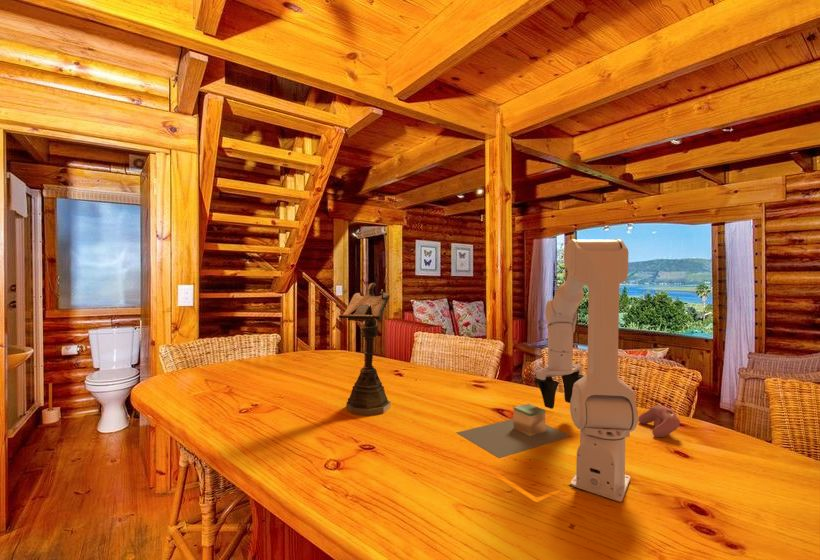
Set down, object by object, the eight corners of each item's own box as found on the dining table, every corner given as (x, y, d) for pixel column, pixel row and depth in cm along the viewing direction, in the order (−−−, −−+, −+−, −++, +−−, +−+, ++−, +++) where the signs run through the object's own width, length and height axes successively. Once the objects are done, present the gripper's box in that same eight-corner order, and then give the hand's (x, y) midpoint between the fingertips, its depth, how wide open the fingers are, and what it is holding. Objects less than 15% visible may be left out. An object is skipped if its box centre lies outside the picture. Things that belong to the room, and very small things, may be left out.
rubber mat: (499, 461, 75) (499, 458, 75) (456, 435, 87) (456, 432, 87) (571, 438, 86) (571, 435, 86) (524, 418, 98) (524, 415, 98)
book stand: (378, 425, 92) (380, 281, 92) (330, 418, 96) (332, 280, 96) (400, 404, 108) (402, 280, 108) (358, 399, 112) (360, 280, 112)
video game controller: (671, 446, 86) (688, 420, 86) (652, 435, 87) (667, 409, 86) (653, 429, 96) (667, 405, 95) (635, 419, 97) (649, 396, 96)
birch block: (529, 435, 86) (530, 413, 86) (513, 428, 90) (513, 407, 90) (545, 431, 88) (545, 410, 88) (528, 424, 93) (528, 403, 93)
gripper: (565, 345, 101) (565, 396, 102) (527, 349, 94) (526, 404, 94) (589, 349, 95) (589, 403, 95) (550, 355, 88) (549, 413, 88)
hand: (559, 404), depth 94 cm, fingers open, 7 cm apart
